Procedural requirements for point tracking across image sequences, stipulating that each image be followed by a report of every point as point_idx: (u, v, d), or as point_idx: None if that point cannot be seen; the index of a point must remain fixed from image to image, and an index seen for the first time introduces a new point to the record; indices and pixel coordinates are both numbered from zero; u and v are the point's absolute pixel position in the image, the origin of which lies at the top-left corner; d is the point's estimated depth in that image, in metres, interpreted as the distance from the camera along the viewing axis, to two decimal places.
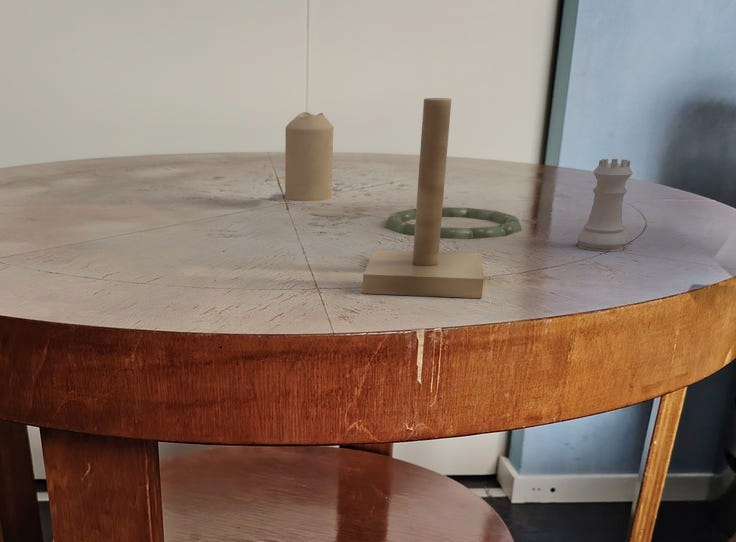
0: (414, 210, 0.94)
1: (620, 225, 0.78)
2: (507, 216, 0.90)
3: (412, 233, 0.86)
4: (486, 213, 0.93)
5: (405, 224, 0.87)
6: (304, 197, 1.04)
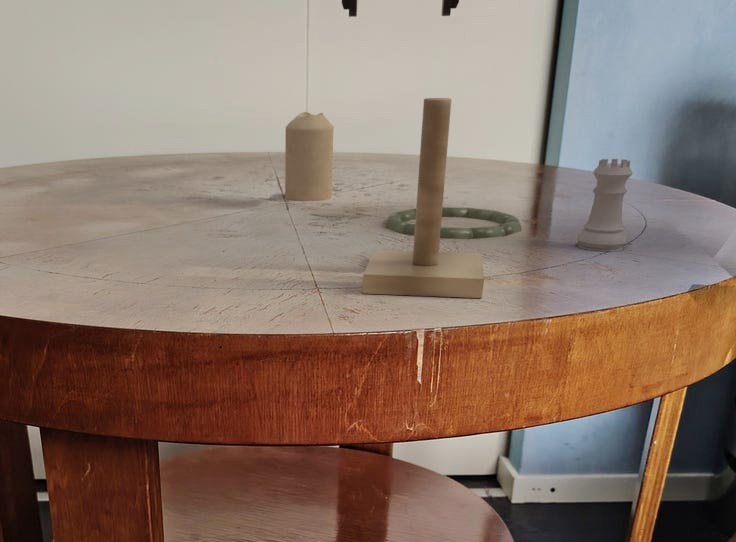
0: (414, 210, 0.94)
1: (620, 225, 0.78)
2: (507, 216, 0.90)
3: (412, 233, 0.86)
4: (486, 213, 0.93)
5: (405, 224, 0.87)
6: (304, 197, 1.04)
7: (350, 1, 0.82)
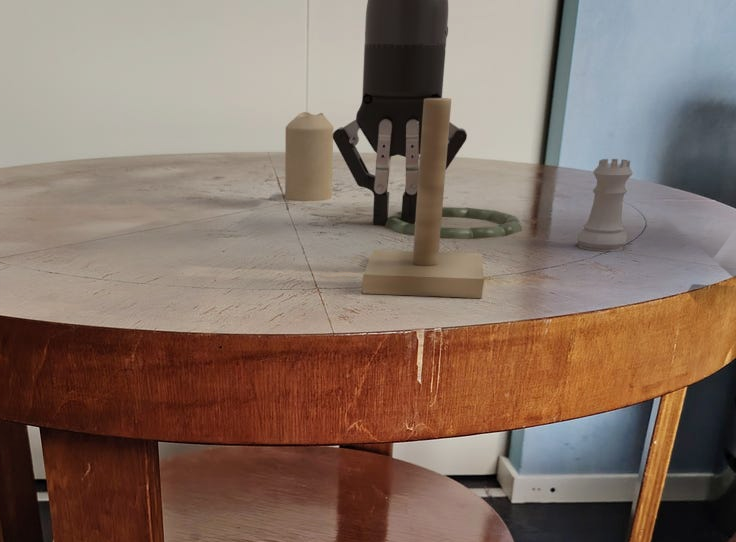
0: None
1: (620, 225, 0.78)
2: (507, 216, 0.90)
3: (412, 233, 0.86)
4: (486, 212, 0.93)
5: (405, 224, 0.87)
6: (304, 197, 1.04)
7: (380, 221, 0.90)
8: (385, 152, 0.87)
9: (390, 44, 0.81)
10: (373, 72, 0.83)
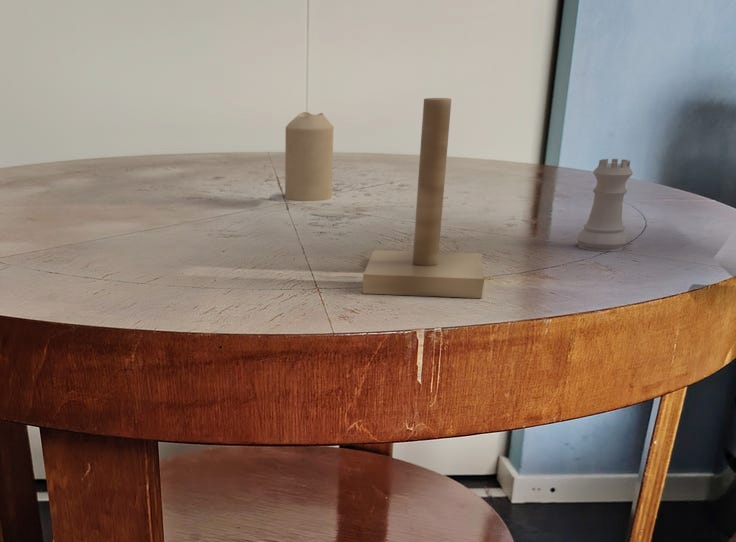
0: None
1: (620, 225, 0.78)
2: None
3: None
4: None
5: None
6: (304, 197, 1.04)
7: None
8: None
9: None
10: None
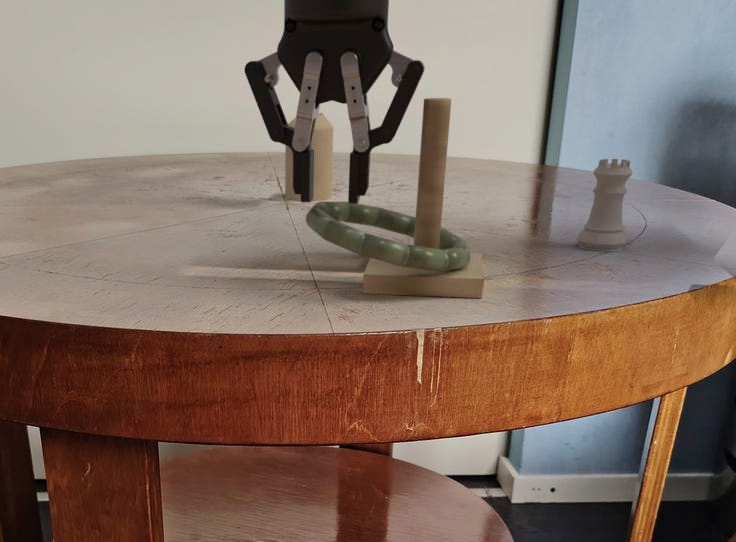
0: (348, 204, 0.75)
1: (620, 225, 0.78)
2: (457, 239, 0.72)
3: (335, 234, 0.67)
4: None
5: (330, 220, 0.67)
6: None
7: (302, 187, 0.70)
8: (315, 97, 0.66)
9: None
10: None
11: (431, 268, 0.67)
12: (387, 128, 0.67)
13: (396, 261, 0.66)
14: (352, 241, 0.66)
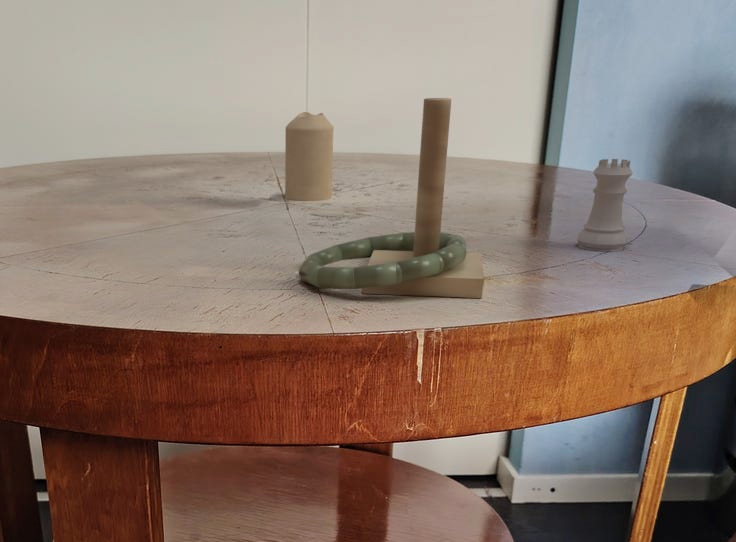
0: (338, 246, 0.76)
1: (620, 225, 0.78)
2: (449, 237, 0.72)
3: (327, 279, 0.68)
4: None
5: (318, 269, 0.69)
6: (304, 197, 1.04)
7: None
8: None
9: None
10: None
11: (428, 274, 0.67)
12: None
13: (392, 281, 0.67)
14: (344, 279, 0.67)
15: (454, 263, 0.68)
